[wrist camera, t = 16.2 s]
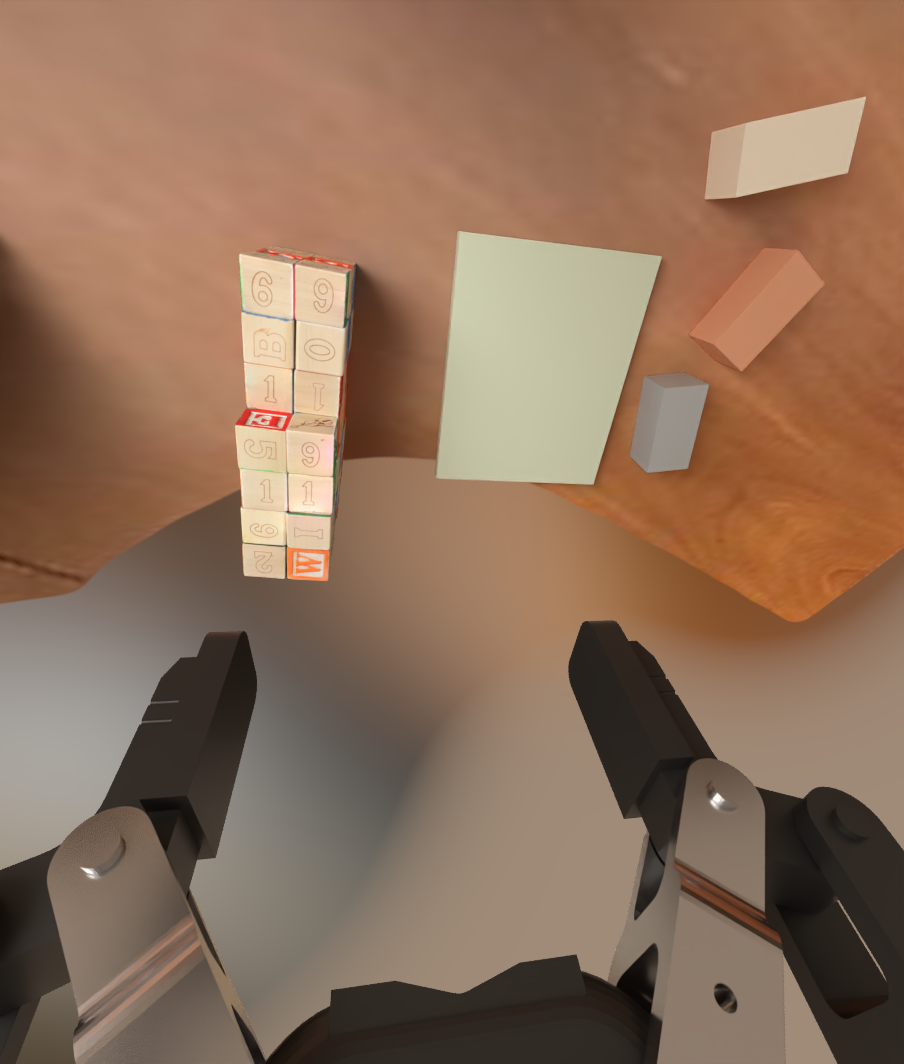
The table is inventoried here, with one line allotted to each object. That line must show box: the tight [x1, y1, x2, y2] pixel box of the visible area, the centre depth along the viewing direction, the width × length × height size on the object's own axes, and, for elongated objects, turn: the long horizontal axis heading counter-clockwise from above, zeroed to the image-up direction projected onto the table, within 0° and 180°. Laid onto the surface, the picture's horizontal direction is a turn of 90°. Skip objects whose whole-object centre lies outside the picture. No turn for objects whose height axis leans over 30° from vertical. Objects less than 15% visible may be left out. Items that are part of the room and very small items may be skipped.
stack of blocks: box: [235, 247, 356, 581], centre depth 35 cm, size 21×6×12 cm, turn 169°
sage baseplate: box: [435, 231, 662, 485], centre depth 41 cm, size 20×16×1 cm
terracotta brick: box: [689, 248, 825, 372], centre depth 39 cm, size 8×4×4 cm, turn 145°
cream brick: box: [705, 97, 866, 199], centre depth 33 cm, size 8×4×4 cm, turn 100°
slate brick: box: [630, 372, 709, 473], centre depth 44 cm, size 8×4×4 cm, turn 3°
